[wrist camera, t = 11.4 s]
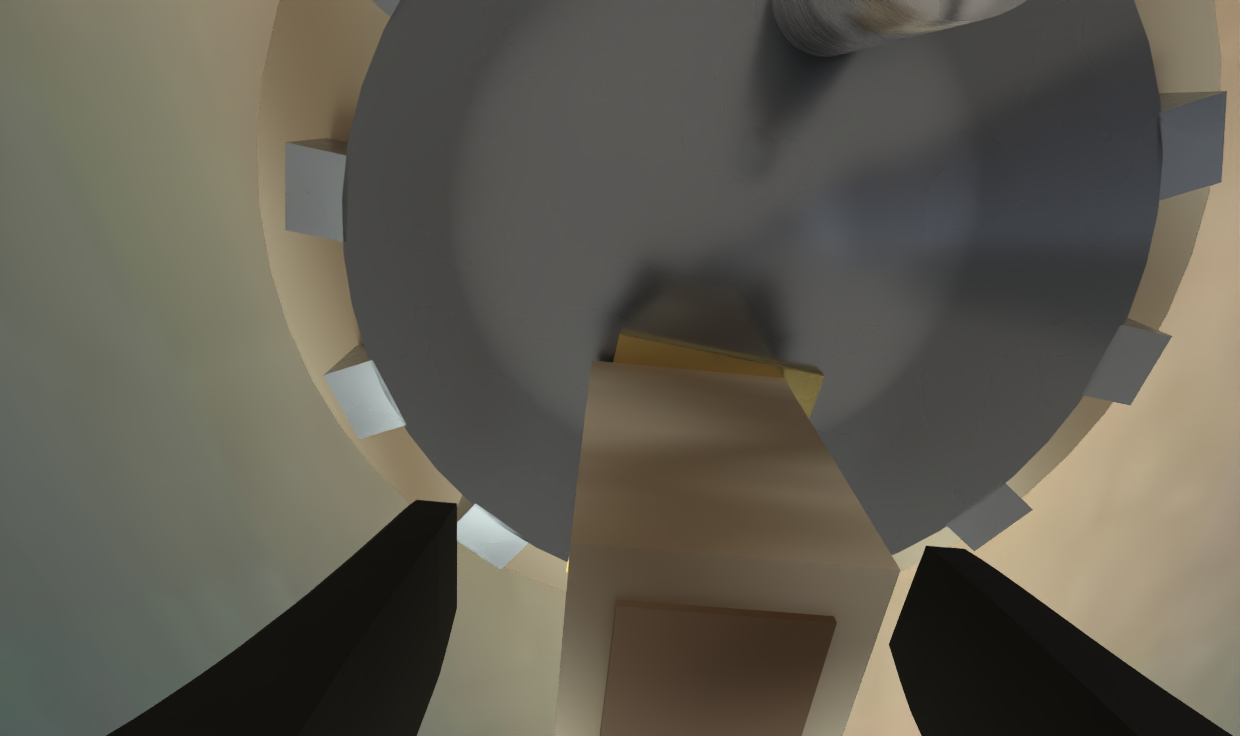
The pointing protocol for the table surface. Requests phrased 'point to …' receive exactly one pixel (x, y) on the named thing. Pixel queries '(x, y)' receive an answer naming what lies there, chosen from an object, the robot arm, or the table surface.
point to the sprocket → (751, 232)
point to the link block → (713, 564)
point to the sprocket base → (316, 273)
